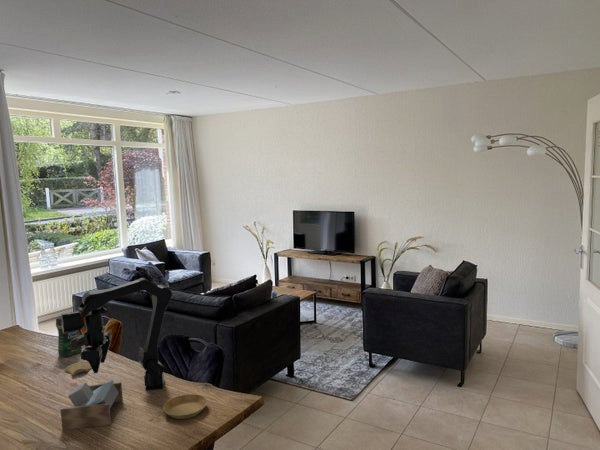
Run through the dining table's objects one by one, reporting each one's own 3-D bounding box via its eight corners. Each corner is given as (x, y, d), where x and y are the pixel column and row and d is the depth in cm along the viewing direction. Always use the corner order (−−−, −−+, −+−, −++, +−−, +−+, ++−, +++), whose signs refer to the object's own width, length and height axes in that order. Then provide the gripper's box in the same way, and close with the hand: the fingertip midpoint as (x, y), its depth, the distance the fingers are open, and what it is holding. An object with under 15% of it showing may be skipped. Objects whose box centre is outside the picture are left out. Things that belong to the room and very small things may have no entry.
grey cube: (93, 393, 163) (86, 382, 162) (89, 400, 158) (81, 388, 157) (80, 401, 163) (73, 389, 162) (75, 408, 158) (67, 396, 157)
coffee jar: (64, 359, 212) (60, 319, 210) (56, 355, 216) (52, 316, 214) (85, 351, 220) (81, 313, 217) (76, 348, 224) (72, 311, 222)
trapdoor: (119, 391, 169) (112, 379, 168) (109, 410, 155) (100, 398, 154) (89, 407, 168) (82, 396, 167) (76, 428, 154) (68, 416, 153)
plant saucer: (170, 401, 169) (170, 394, 168) (211, 400, 169) (210, 393, 168) (158, 423, 154) (157, 415, 154) (202, 422, 154) (202, 414, 154)
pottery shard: (64, 375, 198) (68, 377, 190) (63, 364, 199) (67, 366, 191) (91, 369, 205) (96, 371, 197) (90, 359, 205) (95, 360, 198)
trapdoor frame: (122, 399, 171) (121, 381, 170) (110, 424, 154) (108, 404, 153) (79, 404, 169) (78, 385, 168) (62, 429, 152) (60, 409, 151)
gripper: (78, 320, 175) (83, 360, 177) (61, 338, 157) (67, 382, 159) (109, 317, 177) (114, 356, 179) (96, 334, 159) (101, 378, 161)
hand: (99, 367), depth 169 cm, fingers open, 9 cm apart
